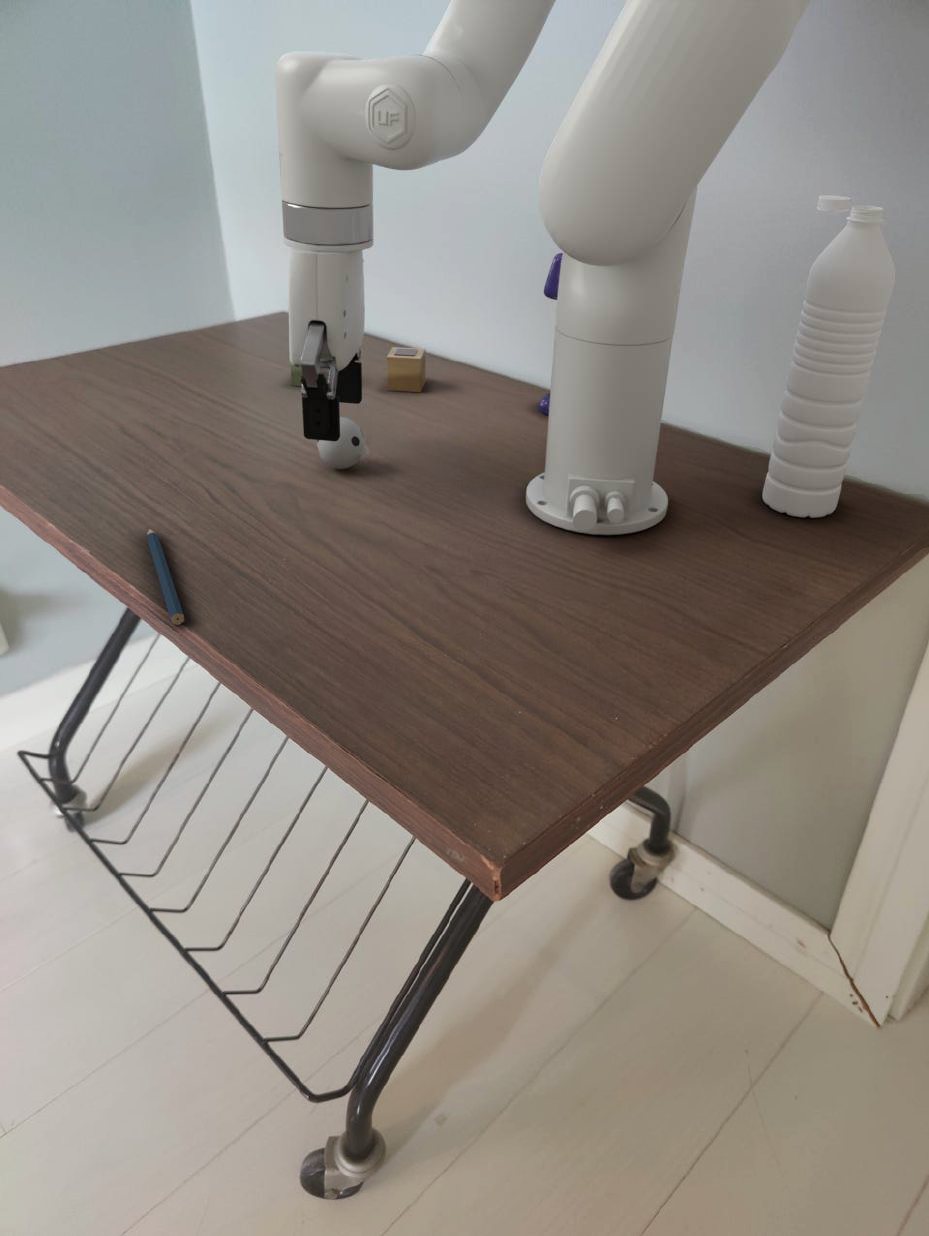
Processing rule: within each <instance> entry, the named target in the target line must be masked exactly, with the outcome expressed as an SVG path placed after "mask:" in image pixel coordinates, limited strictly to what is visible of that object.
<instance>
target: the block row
mask: <svg viewBox="0 0 929 1236" xmlns="http://www.w3.org/2000/svg"><path fill="white" fill-rule="evenodd" d="M288 355H289V354H288ZM288 358H290V355H289V356H288ZM426 358H427V357H426V348H417V347H416V348H415V347H398V346H397V347H395V346H392V347H391V349H390V350H389V352H388V354H387V356H386V387H387V389H386V391H389V392H391V391H393V392H409V393H421V392H422V390H423V388H424V386H425V383H426V381H427V375H426V374H427V371H426V368H427V367H426V365H427V364H426V363H427V362H426ZM328 360H330V359H320V361H328ZM289 368H290V369H289V370H290V378H291V386H294V387H302V383H301V379H302V378H301V376H303V373H302V368H301V366H300V367H298V368H297V367H294V366H293V365H292V364H291V362H290V361H289ZM320 374H324V376H325V378H326V381H327V384H328V373H327V372H320Z"/></svg>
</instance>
